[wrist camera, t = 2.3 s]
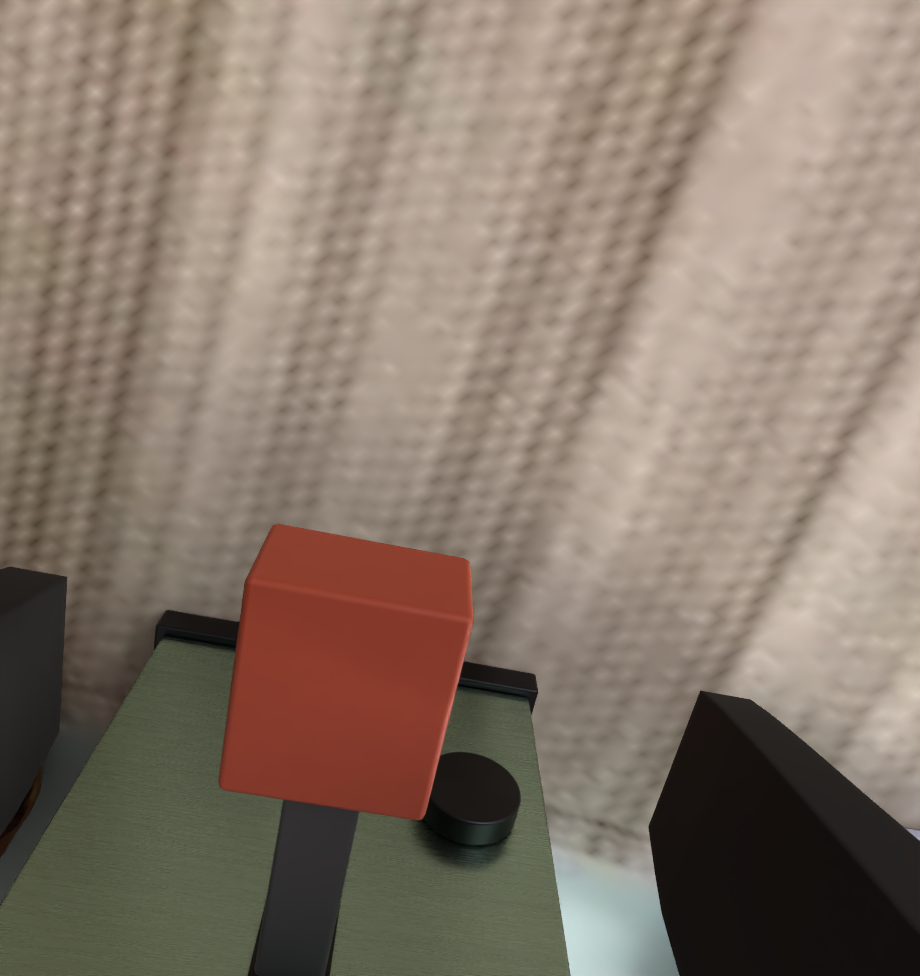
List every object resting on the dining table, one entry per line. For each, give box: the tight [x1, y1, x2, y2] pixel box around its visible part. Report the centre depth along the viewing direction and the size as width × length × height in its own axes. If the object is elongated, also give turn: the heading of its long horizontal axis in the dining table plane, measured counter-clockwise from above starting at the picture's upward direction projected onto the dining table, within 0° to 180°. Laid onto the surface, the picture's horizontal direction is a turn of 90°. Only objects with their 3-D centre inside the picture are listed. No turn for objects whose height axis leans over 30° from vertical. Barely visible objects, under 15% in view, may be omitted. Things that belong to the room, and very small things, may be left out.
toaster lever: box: [218, 524, 473, 976], centre depth 11 cm, size 6×3×2 cm, turn 168°
